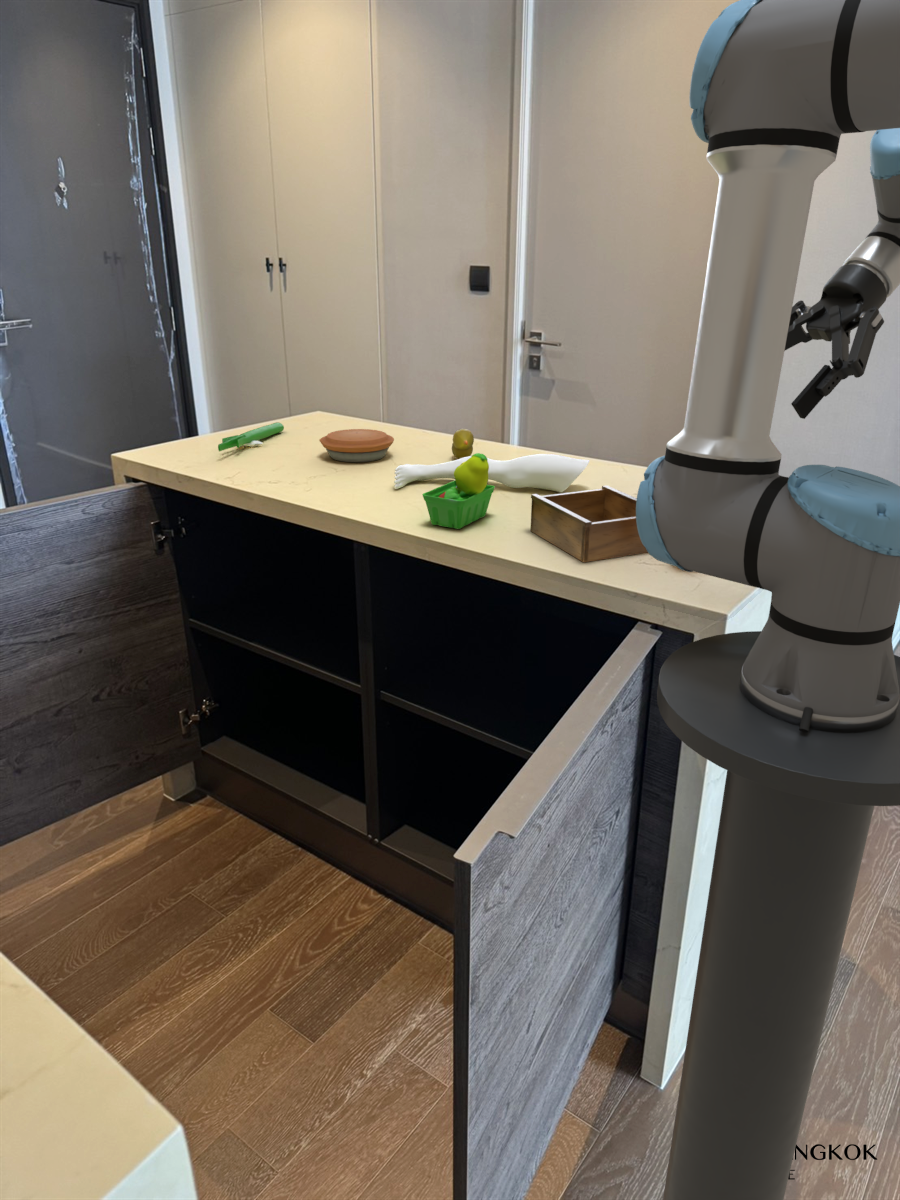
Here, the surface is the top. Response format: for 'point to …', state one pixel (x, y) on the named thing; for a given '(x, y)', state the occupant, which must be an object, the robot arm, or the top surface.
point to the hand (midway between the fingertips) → (759, 403)
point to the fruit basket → (461, 495)
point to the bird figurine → (462, 443)
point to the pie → (357, 445)
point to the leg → (506, 471)
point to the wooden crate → (588, 523)
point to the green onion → (251, 436)
